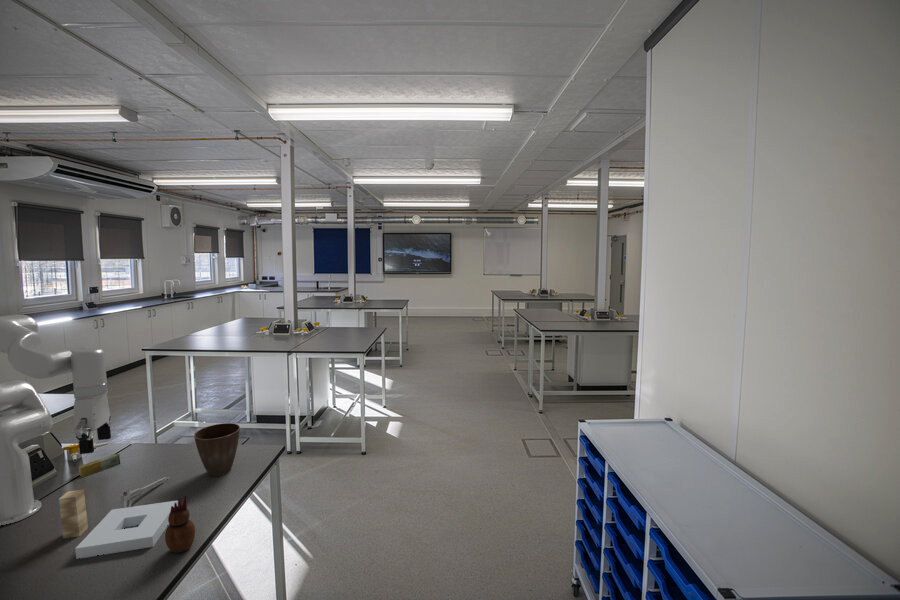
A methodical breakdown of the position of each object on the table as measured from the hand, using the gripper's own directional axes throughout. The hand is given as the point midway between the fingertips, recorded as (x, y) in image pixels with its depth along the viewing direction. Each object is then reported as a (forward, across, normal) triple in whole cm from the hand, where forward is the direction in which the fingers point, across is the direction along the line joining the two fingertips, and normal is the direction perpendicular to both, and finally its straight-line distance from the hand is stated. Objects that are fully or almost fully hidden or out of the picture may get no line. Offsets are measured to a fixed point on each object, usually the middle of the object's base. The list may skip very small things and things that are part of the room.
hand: (96, 445), depth 124 cm
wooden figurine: (+24, +21, +27) cm, 42 cm away
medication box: (+25, -39, -18) cm, 50 cm away
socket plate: (+24, +8, +11) cm, 28 cm away
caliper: (+25, -14, +7) cm, 29 cm away
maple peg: (+24, +4, -5) cm, 25 cm away
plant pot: (+24, -23, +27) cm, 43 cm away
